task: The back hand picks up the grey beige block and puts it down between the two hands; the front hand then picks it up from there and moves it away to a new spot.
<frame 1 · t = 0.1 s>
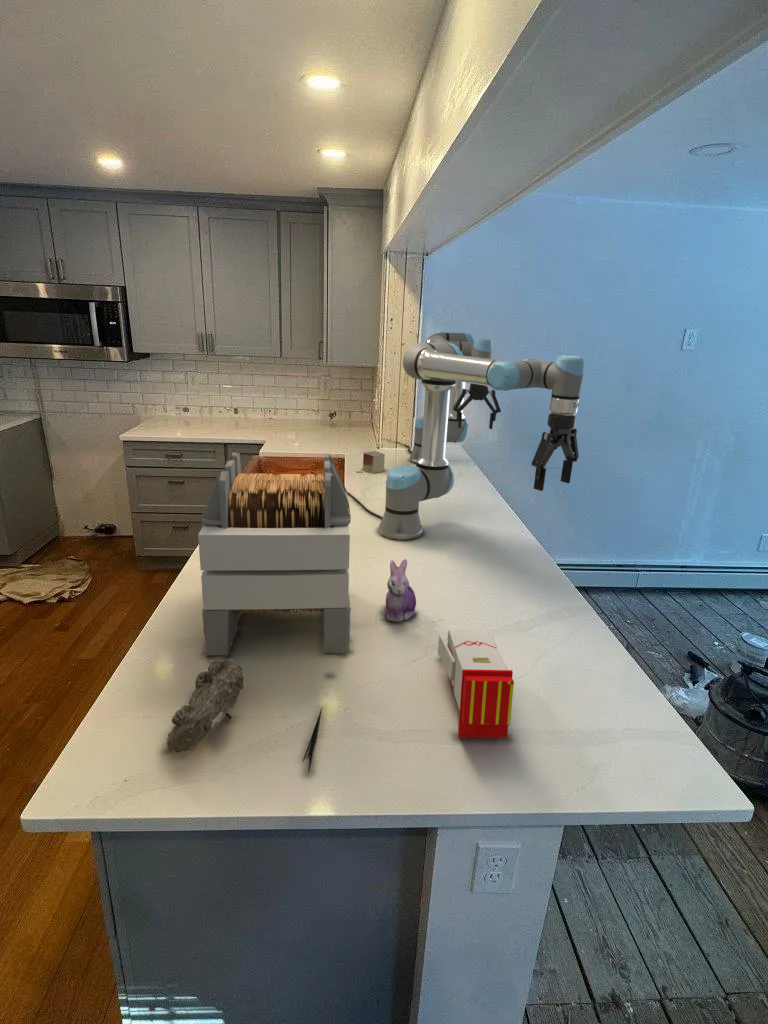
front hand: (551, 485, 166), 28 cm above the counter, tool pointing down, fingers open, 13 cm apart
back hand: (474, 428, 243), 28 cm above the counter, tool pointing down, fingers open, 13 cm apart
figurine: (399, 614, 147), on the counter
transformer: (282, 618, 143), on the counter
grey beige block: (373, 470, 276), on the counter
fossil: (212, 717, 108), on the counter
feather: (319, 719, 109), on the counter
toy: (469, 691, 119), on the counter
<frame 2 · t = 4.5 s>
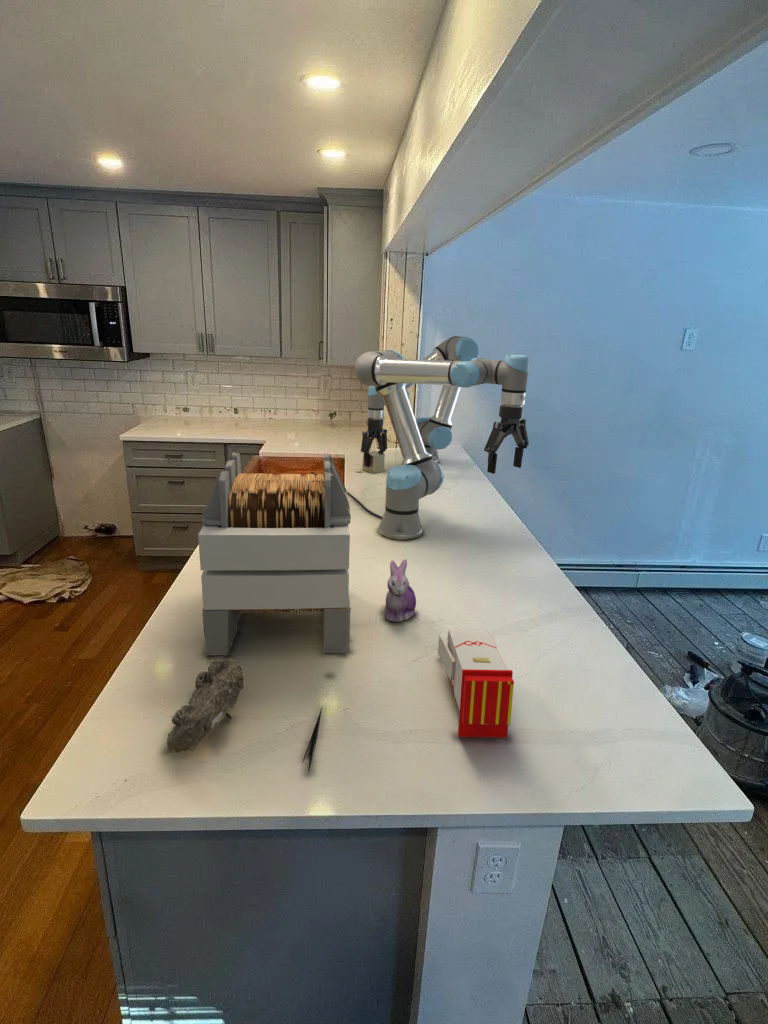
front hand: (504, 469, 187), 26 cm above the counter, tool pointing down, fingers open, 13 cm apart
back hand: (373, 465, 275), 3 cm above the counter, tool pointing down, fingers closed on grey beige block, 7 cm apart
grey beige block: (373, 470, 276), on the counter, touching back hand
everything else where it was.
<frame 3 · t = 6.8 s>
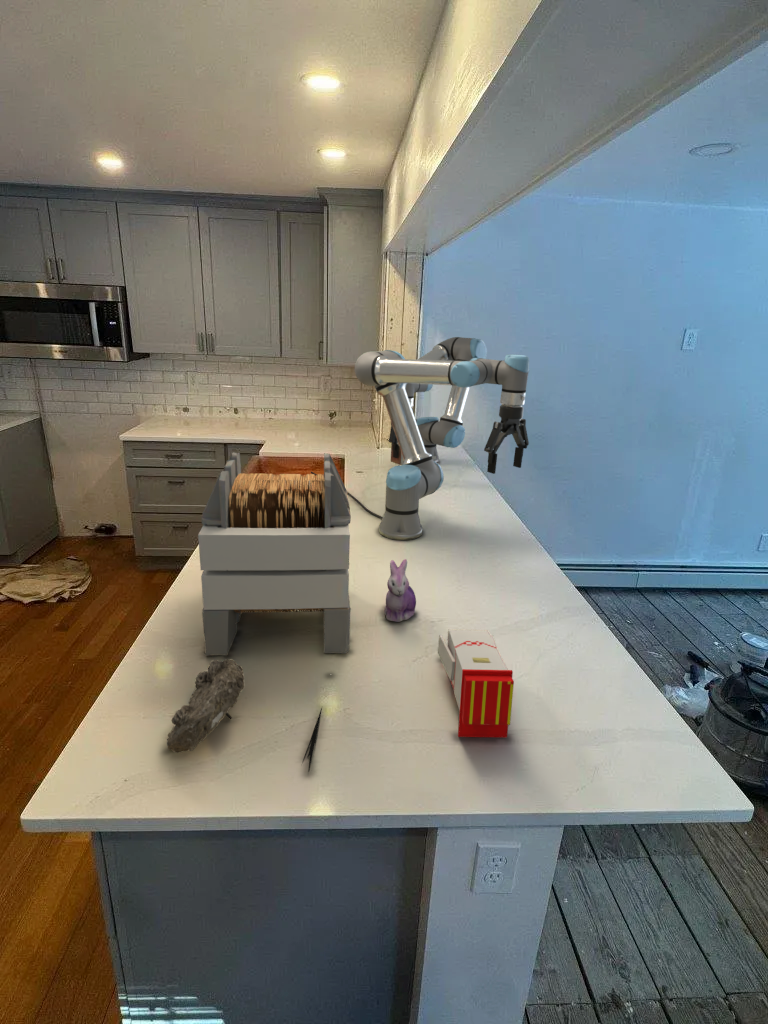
front hand: (504, 469, 187), 26 cm above the counter, tool pointing down, fingers open, 13 cm apart
back hand: (401, 456, 262), 11 cm above the counter, tool pointing down, fingers closed on grey beige block, 7 cm apart
grey beige block: (401, 462, 263), point 8 cm above the counter, touching back hand
everything else where it was.
when the back hand's fingers open (4 cm above the counter, at t = 9.5 s): grey beige block drops 1 cm, on the counter.
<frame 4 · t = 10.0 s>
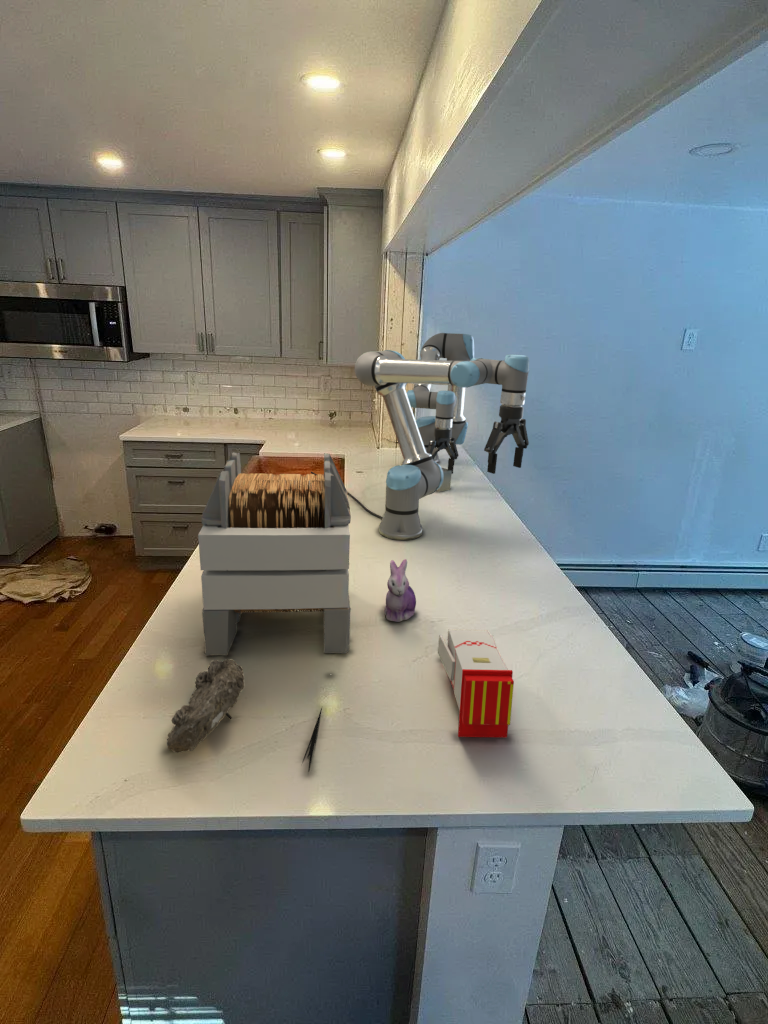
front hand: (504, 469, 187), 26 cm above the counter, tool pointing down, fingers open, 13 cm apart
back hand: (439, 475, 251), 6 cm above the counter, tool pointing down, fingers open, 13 cm apart
grey beige block: (438, 488, 253), on the counter
everything else where it was.
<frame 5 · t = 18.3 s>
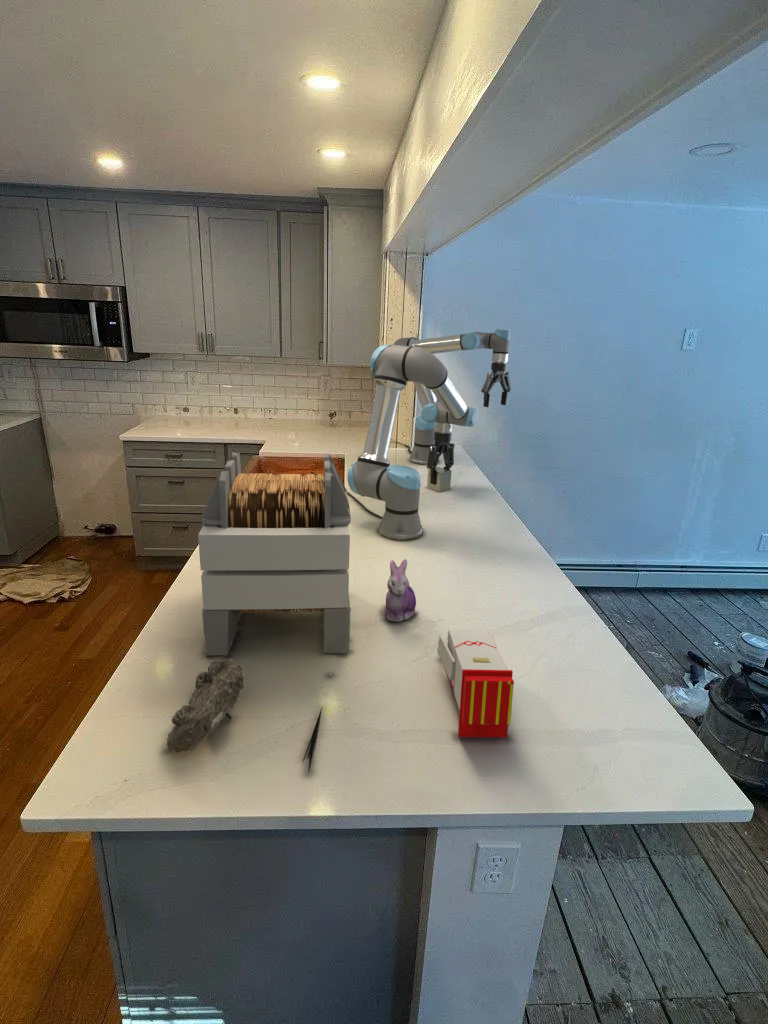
front hand: (439, 482, 252), 3 cm above the counter, tool pointing down, fingers closed on grey beige block, 7 cm apart
back hand: (494, 405, 285), 31 cm above the counter, tool pointing down, fingers open, 13 cm apart
grey beige block: (438, 488, 253), on the counter, touching front hand
everything else where it was.
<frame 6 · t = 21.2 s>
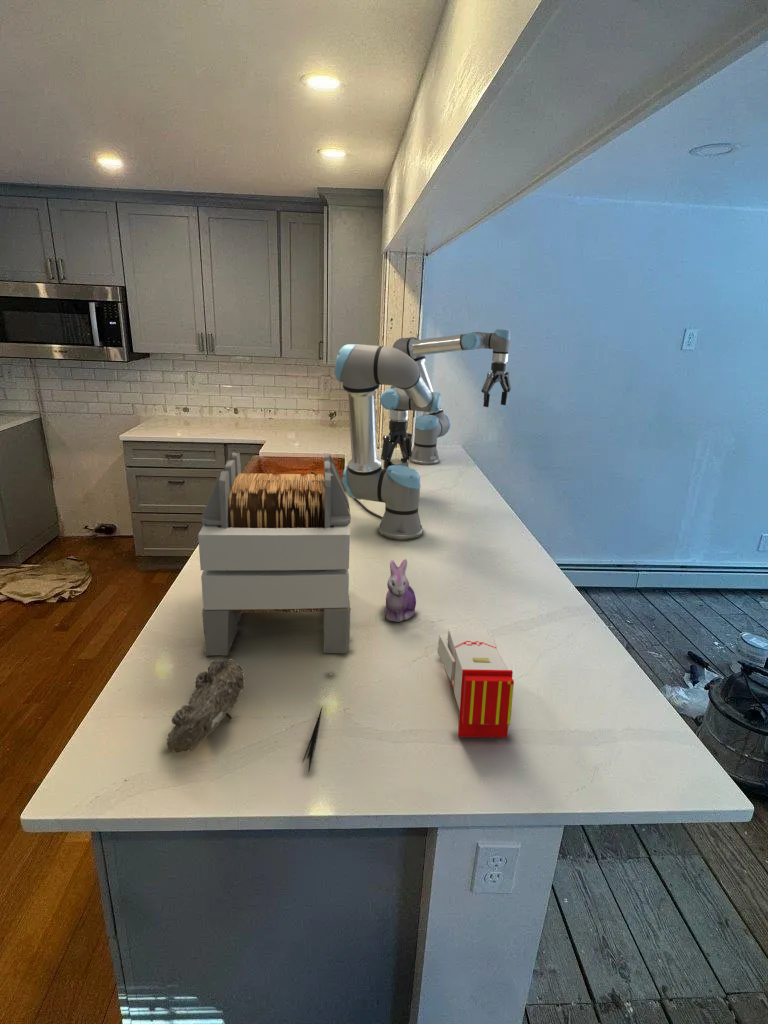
front hand: (395, 475, 234), 10 cm above the counter, tool pointing down, fingers closed on grey beige block, 7 cm apart
back hand: (494, 405, 285), 31 cm above the counter, tool pointing down, fingers open, 13 cm apart
grey beige block: (395, 481, 236), point 7 cm above the counter, touching front hand
everything else where it was.
when the front hand's fingers open (4 cm above the counter, at t = 24.3 s): grey beige block drops 1 cm, on the counter.
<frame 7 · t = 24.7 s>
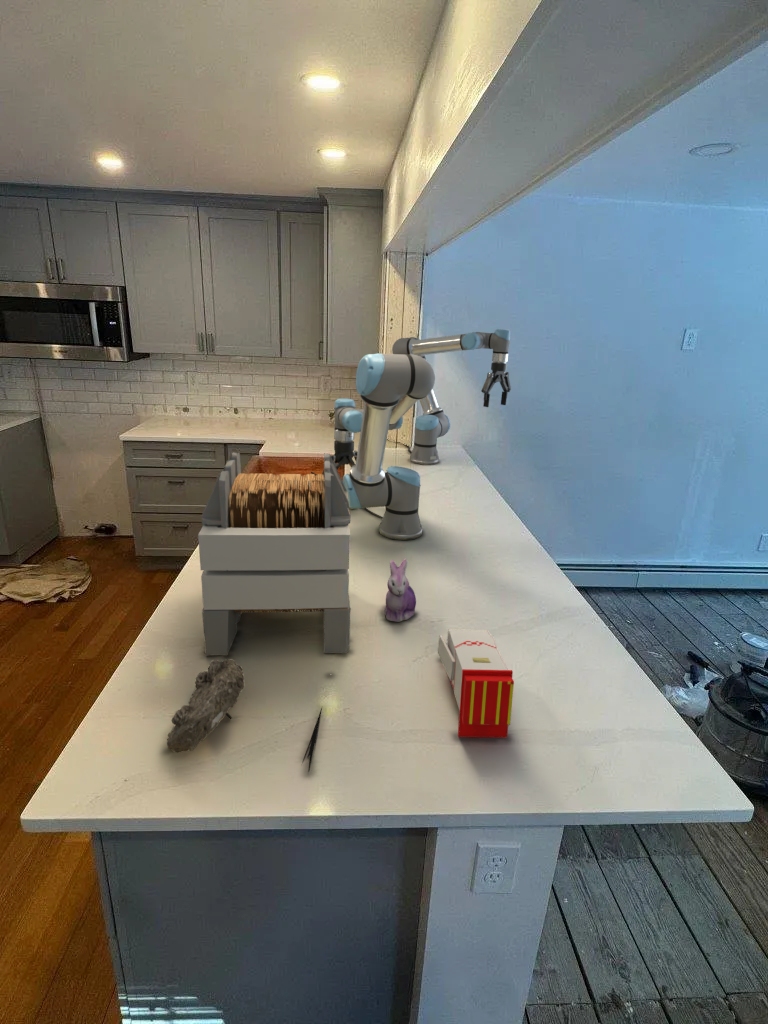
front hand: (343, 494, 222), 6 cm above the counter, tool pointing down, fingers open, 12 cm apart
back hand: (494, 405, 285), 31 cm above the counter, tool pointing down, fingers open, 13 cm apart
grey beige block: (342, 507, 223), on the counter
everything else where it was.
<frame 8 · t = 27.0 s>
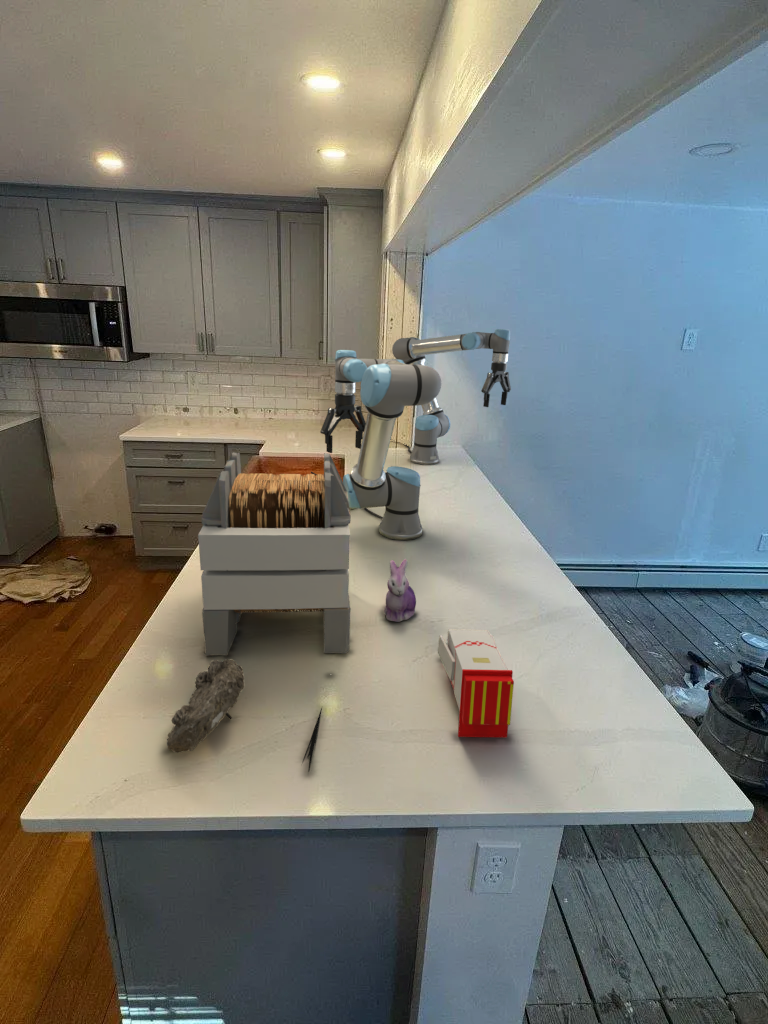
front hand: (344, 450, 216), 23 cm above the counter, tool pointing down, fingers open, 13 cm apart
back hand: (494, 405, 285), 31 cm above the counter, tool pointing down, fingers open, 13 cm apart
nothing on the counter moved.
at the end: grey beige block inside the target area (0.1 cm from its centre), on the counter; grey beige block tilted 0°; the two hands never held the grey beige block at the same time; the front hand is holding nothing; the back hand is holding nothing; grey beige block at rest at the end (0.0 cm/s) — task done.
